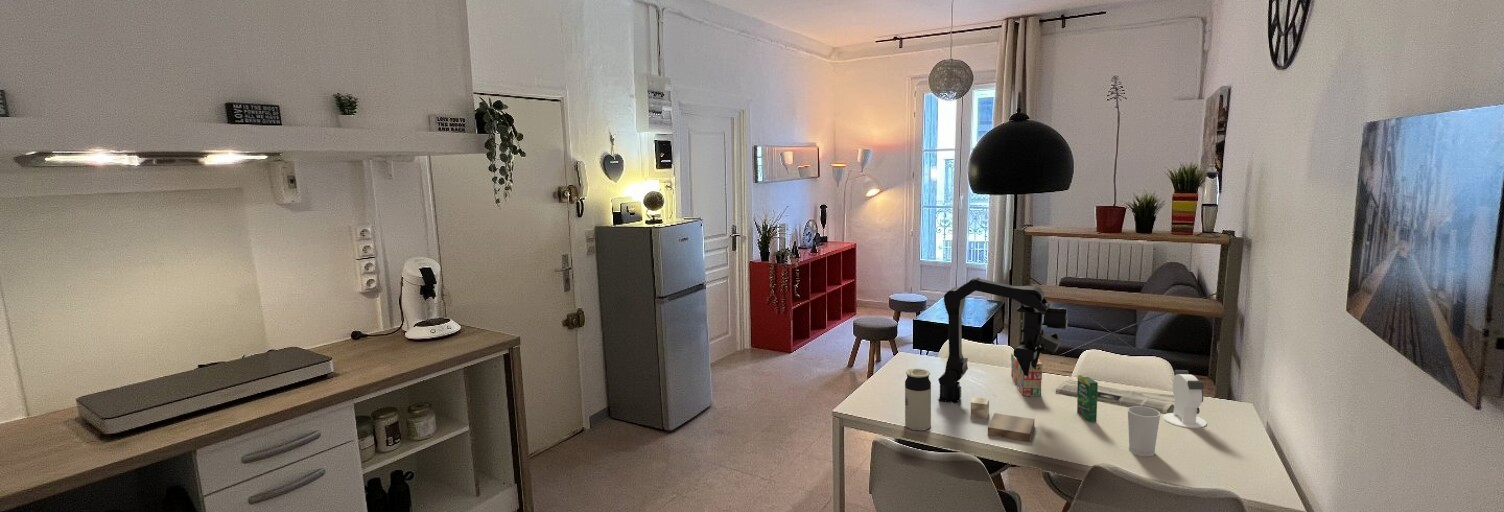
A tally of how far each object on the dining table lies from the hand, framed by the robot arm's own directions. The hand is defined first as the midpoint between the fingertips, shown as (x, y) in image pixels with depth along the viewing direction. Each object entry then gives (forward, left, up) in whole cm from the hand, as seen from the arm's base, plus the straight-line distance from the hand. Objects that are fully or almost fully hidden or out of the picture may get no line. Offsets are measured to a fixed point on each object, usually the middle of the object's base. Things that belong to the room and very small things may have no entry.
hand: (1030, 371), depth 217 cm
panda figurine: (+44, +11, -14) cm, 48 cm away
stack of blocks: (-4, +25, -14) cm, 29 cm away
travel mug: (-30, -26, -14) cm, 42 cm away
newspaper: (+25, +24, -15) cm, 38 cm away
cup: (+32, -18, -14) cm, 39 cm away
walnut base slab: (-3, -18, -14) cm, 23 cm away
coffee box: (+17, +2, -14) cm, 22 cm away
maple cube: (-14, -9, -14) cm, 22 cm away
